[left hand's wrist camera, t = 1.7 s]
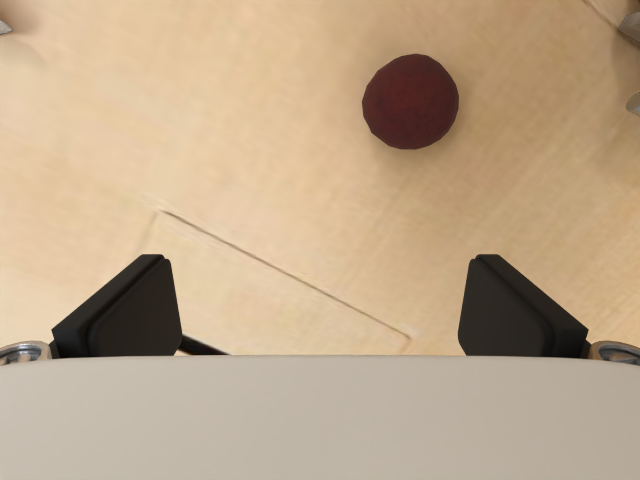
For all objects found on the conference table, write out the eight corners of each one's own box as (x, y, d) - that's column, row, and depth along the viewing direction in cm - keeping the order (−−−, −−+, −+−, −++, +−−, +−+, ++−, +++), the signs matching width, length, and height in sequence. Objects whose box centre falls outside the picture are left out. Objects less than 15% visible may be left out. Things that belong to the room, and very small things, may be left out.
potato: (434, 147, 34) (461, 157, 28) (354, 141, 34) (362, 150, 27) (449, 62, 31) (483, 51, 25) (362, 56, 31) (373, 43, 25)
